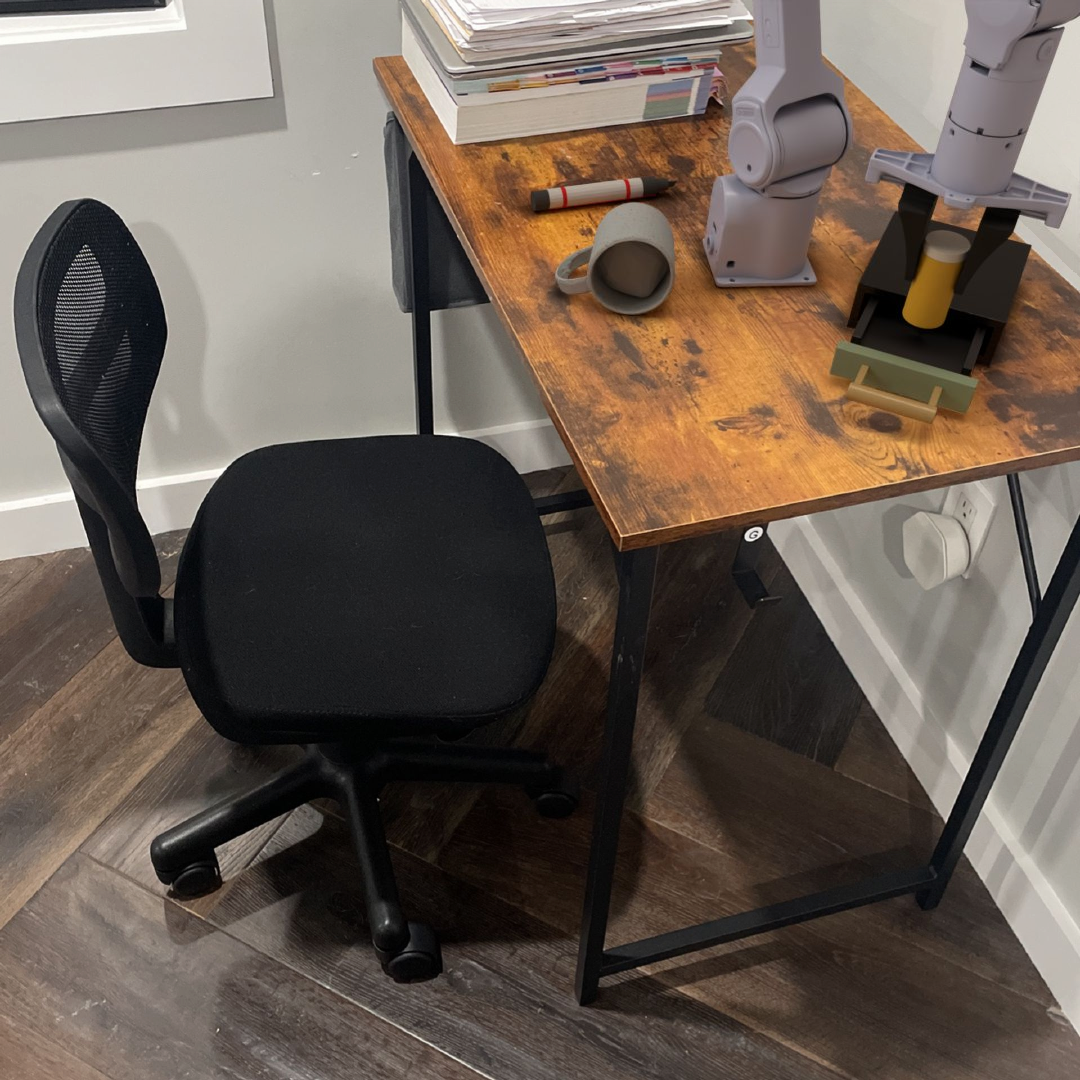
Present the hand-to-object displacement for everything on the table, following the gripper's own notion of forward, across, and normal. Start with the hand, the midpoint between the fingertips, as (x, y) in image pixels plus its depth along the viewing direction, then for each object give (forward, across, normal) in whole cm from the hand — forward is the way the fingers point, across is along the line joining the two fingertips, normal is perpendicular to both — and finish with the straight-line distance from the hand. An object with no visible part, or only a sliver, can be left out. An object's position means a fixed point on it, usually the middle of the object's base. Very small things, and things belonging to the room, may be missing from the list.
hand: (934, 281), depth 91 cm
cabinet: (+9, 0, +11) cm, 14 cm away
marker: (+9, -34, +14) cm, 38 cm away
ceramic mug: (+9, -27, -1) cm, 28 cm away
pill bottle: (+3, 0, 0) cm, 3 cm away
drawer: (+8, 0, -1) cm, 8 cm away
